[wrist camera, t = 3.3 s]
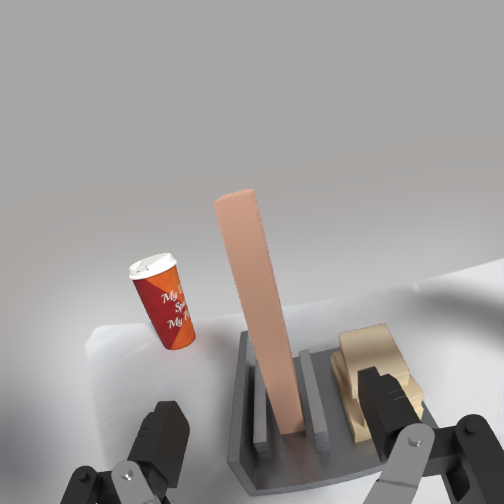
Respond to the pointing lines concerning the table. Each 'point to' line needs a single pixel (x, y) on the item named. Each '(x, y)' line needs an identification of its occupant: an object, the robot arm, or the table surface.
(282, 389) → the pink rectangular bar
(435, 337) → the table surface
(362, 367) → the offcut stack
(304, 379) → the rack
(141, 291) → the paper cup
